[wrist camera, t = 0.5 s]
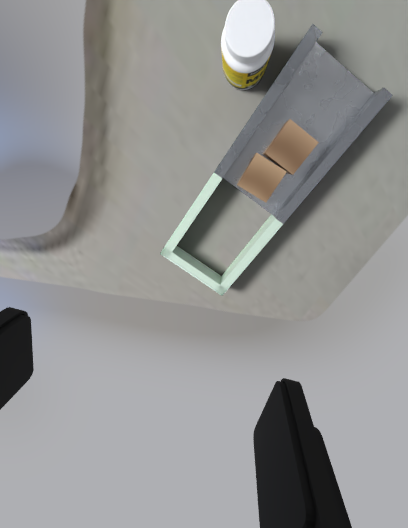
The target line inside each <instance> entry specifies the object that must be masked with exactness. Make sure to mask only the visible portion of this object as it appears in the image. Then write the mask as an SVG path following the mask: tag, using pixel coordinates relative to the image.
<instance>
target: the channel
mask: <svg viewBox="0 0 408 528" xmlns="http://www.w3.org/2000/svg"><path fill="white" fill-rule="evenodd" d="M321 34H322V31H320V30H319V29H318V28H317V27H316V26H315V25H314V24H312V26H311V27H310V29H309V30H308V32H307V33H306V35H305V36H304V38H303V39H302V41H301V42H300V44H299V45H298V47H297V48H296V50H295V51H294V53H293V54H292V56H291V57H290V59H289V60H288V62H287V63H286V65H285V66H284V68H283V69H282V71H281V72H280V74H279V75H278V77H277V78H276V80H275V81H274V83H273V84H272V86H271V87H270V89H269V90H268V92H267V93H266V95H265V96H264V98H263V99H262V101H261V102H260V104H259V105H258V107H257V108H256V110H255V111H254V113H253V114H252V116H251V117H250V119H249V120H248V122H247V123H246V125H245V126H244V128H243V130H242V131H241V133H240V134H239V136H238V137H237V139H236V140H235V142H234V143H233V145H232V146H231V148H230V149H229V151H228V152H227V154H226V155H225V157H224V158H223V160H222V161H221V163H220V164H219V166H218V167H217V169H216V170H215V172H214V173H216V174H217V175H218V176H220V177H221V178H224V179H225V180H227V181H228V182H229V183H231V184H232V185H233V186H235V187H236V188H237V189H239V190H240V191H241V192H243V193H244V194H245V195H247V196H248V197H249V198H251V199H252V200H253V201H255V202H256V203H257V204H259V205H260V206H261V207H263V208H264V209H265V210H267V211H268V212H269V213H271V214H272V215H273V216H274V217H275V218H276V219H277V220H278V221H280V222H281V223H282V224H284V223H285V221H286V220H287V219H288V218H289V217H290V216H291V214H292V213H293V212H294V211H295V210H296V208H297V207H298V206H299V205H300V204H301V203H302V201H303V200H304V199H305V198H306V197H307V196H308V194H309V193H310V192H311V191H312V190H313V188H314V187H315V186H316V185H317V184H318V183H319V181H320V180H321V179H322V178H323V177H324V176H325V174H326V173H327V172H328V171H329V170H330V168H331V167H332V166H333V165H334V164H335V163H336V161H337V160H338V159H339V158H340V157H341V156H342V154H343V153H344V152H345V151H346V150H347V148H348V147H349V146H350V145H351V144H352V143H353V141H354V140H355V139H356V138H357V137H358V136H359V134H360V133H361V132H362V131H363V130H364V128H365V127H366V126H367V125H368V124H369V123H370V121H371V120H372V119H373V118H374V117H375V116H376V114H377V113H378V112H379V111H380V110H381V109H382V107H383V106H384V105H385V104H386V103H387V101H388V100H389V99H390V98H391V97H392V96H393V95H392V94H391V93H390V92H389V91H387V90H386V89H385V88H382V89H380V90H378V91H376V92H374V93H373V92H372V91H371V90H370V89H369V88H368V87H366V86H365V85H364V84H363V83H362V82H361V81H360V80H359V79H357V78H356V77H355V76H354V75H353V74H352V73H351V72H350V71H348V70H347V69H346V68H345V67H344V66H343V65H342V64H341V63H339V62H338V61H337V60H336V59H335V58H334V57H333V56H331V55H330V54H329V53H328V52H327V51H326V50H325V49H324V48H322V47H321V46H320V45H319V44H318V43H317V42H316V41H317V40H318V38H319V37H320V35H321ZM289 119H291V120H292V121H293V122H295V123H296V124H297V125H298V126H299V127H301V128H302V129H303V130H304V131H306V132H307V133H308V134H309V135H310V136H312V137H313V138H314V139H315V140H316V141H318V142H319V143H318V144H317V145H316V147H315V148H314V149H313V150H312V152H311V153H310V154H309V155H308V157H307V158H306V159H305V161H304V162H303V163H302V164H301V166H300V167H299V168H298V169H297V171H296V172H295V173H294V174H293V175H291V174H288V173H287V172H286V174H285V175H284V177H283V178H282V180H281V181H280V183H279V184H278V186H277V187H276V189H275V190H274V192H273V193H272V195H271V196H270V198H269V199H268V201H267V202H264V201H262V200H261V199H259V198H257V197H256V196H254V195H253V194H251V193H249V192H248V191H246V190H244V189H243V188H241V187H240V186H238V185H237V183H238V182H239V180H240V178H241V177H242V175H243V173H244V172H245V170H246V168H247V167H248V165H249V163H250V162H251V160H252V158H253V157H254V155H255V153H258V154H260V155H261V156H263V157H264V158H266V159H268V160H269V161H271V162H272V163H274V162H273V161H272V160H270V159H269V158H268V157H266V156H265V155H264V154H263V153H264V152H265V150H266V149H267V148H268V146H269V145H270V143H271V142H272V141H273V139H274V138H275V137H276V135H277V134H278V132H279V131H280V130H281V128H282V127H283V125H284V124H285V123H286V122H287V121H288V120H289ZM274 164H275V163H274ZM275 165H277V164H275ZM277 166H278V165H277Z"/></svg>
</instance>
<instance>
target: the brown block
mask: <svg viewBox="0 0 408 528" xmlns="http://www.w3.org/2000/svg"><path fill="white" fill-rule="evenodd" d="M318 143H319V142H318V141H316V140H315V139H314V138H313V137H312V136H310V135H309V134H308V133H307V132H306V131H304V130H303V129H302V128H301V127H299V126H298V125H297V124H296V123H295V122H293V121H292V120H291V119H289V120H288V121H287V122H286V123H285V124H284V125H283V127H282V128H281V130H280V131H279V132H278V134H277V135H276V137H275V138H274V139H273V141H272V142H271V143H270V145H269V146H268V148H267V149H266V150H265V152H264V153H263V154H264V155H265V156H266V157H268V158H269V159H270V160H272V161H273V162H274V163H275V164H277V165H278V166H279V167H280V168H282V169H283V170H285V171H286V172H287V173H288V174H291V175H293V174H294V173H295V172H296V171H297V169H298V168H299V167H300V166H301V164H302V163H303V162H304V161H305V159H306V158H307V157H308V155H309V154H310V153H311V152H312V150H313V149H314V148H315V147H316V145H317V144H318Z"/></svg>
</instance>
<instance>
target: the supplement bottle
mask: <svg viewBox="0 0 408 528" xmlns="http://www.w3.org/2000/svg"><path fill="white" fill-rule="evenodd" d="M274 28H275V18H274V13H273V10H272V8H271V6H270V4H269V3H268V2H267V1H266V0H238V1H237V2H236V3H235V4H234V5H233V6H232V8H231V9H230V11H229V13H228V15H227V18H226V23H225V27H224V30H223V33H222V38H221V50H222V61H223V71H224V75H225V78H226V80H227V81H228V83H229V84H230V85H231V86H232V87H234V88H236V89H239V90H247V89H250V88H252V87H254V86H255V85H256V84H257V83H258V82H259V81H260V80H261V78H262V77H263V75H264V72H265V70H266V67H267V64H268V61H269V58H270V56H271V53H272V50H273V47H274V41H275V30H274Z"/></svg>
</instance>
